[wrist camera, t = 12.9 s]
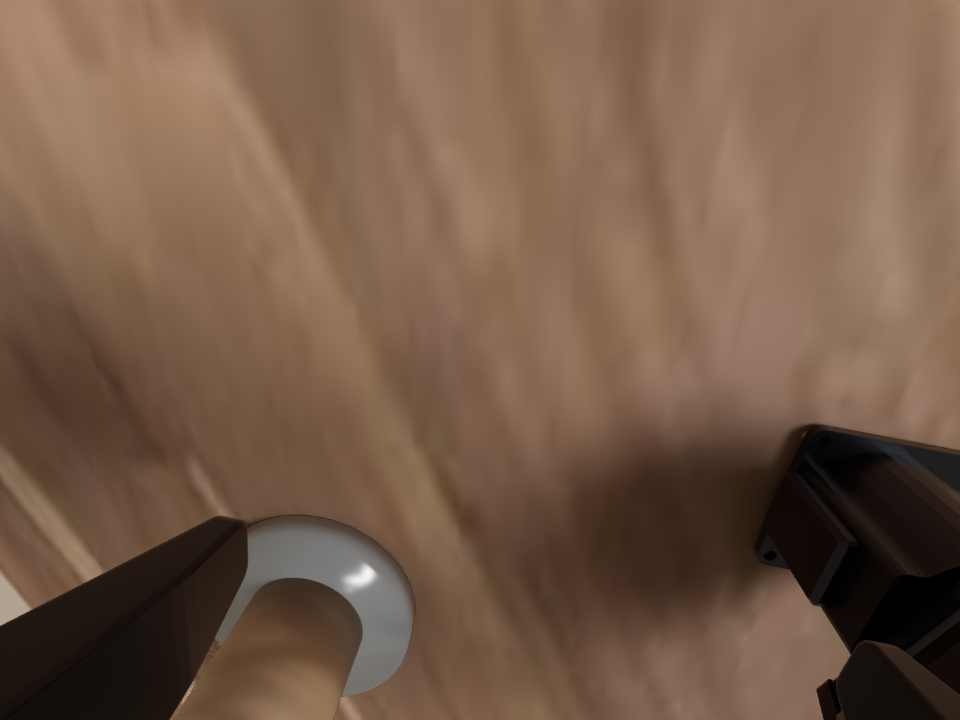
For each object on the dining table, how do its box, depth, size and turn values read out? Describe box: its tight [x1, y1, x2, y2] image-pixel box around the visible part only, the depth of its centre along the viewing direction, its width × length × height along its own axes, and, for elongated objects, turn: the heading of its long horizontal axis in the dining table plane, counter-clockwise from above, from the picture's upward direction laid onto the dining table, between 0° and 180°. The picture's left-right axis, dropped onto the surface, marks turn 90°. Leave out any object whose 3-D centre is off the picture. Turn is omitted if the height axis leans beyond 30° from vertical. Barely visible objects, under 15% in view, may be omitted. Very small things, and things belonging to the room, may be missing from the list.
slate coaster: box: [215, 515, 416, 697], centre depth 25 cm, size 10×10×2 cm
